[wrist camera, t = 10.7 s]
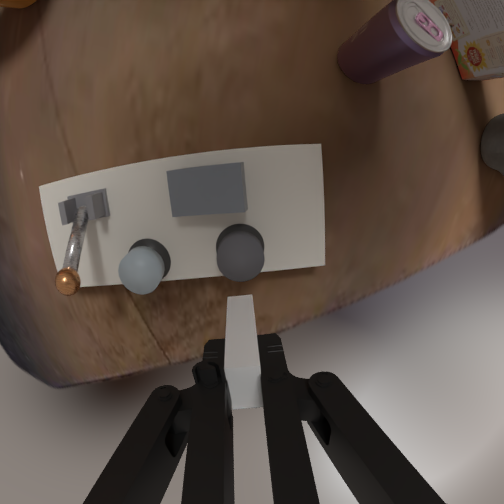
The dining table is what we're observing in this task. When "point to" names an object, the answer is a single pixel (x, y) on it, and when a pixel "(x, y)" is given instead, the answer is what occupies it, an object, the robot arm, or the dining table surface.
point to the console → (191, 227)
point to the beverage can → (395, 41)
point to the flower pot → (16, 3)
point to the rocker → (207, 190)
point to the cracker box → (476, 36)
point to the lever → (73, 255)
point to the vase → (494, 144)
